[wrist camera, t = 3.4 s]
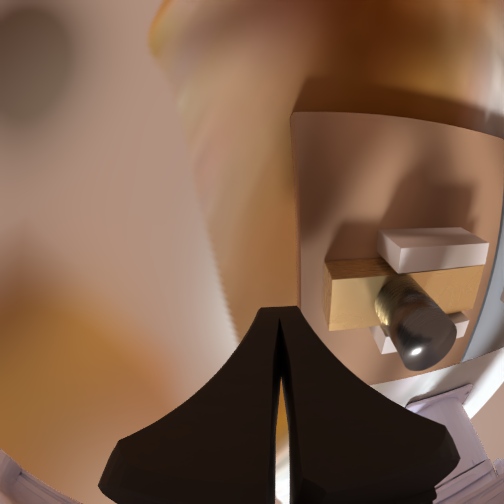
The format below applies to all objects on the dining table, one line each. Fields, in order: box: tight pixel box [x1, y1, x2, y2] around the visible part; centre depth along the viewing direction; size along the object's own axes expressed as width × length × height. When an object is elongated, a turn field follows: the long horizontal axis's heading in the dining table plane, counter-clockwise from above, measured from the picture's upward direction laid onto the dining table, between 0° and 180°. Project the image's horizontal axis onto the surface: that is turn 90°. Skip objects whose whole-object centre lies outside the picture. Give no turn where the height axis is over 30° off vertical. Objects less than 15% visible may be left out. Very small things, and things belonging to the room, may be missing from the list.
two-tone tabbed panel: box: [290, 112, 504, 385], centre depth 11 cm, size 20×15×4 cm
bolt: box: [322, 258, 484, 371], centre depth 9 cm, size 8×2×5 cm, turn 95°
